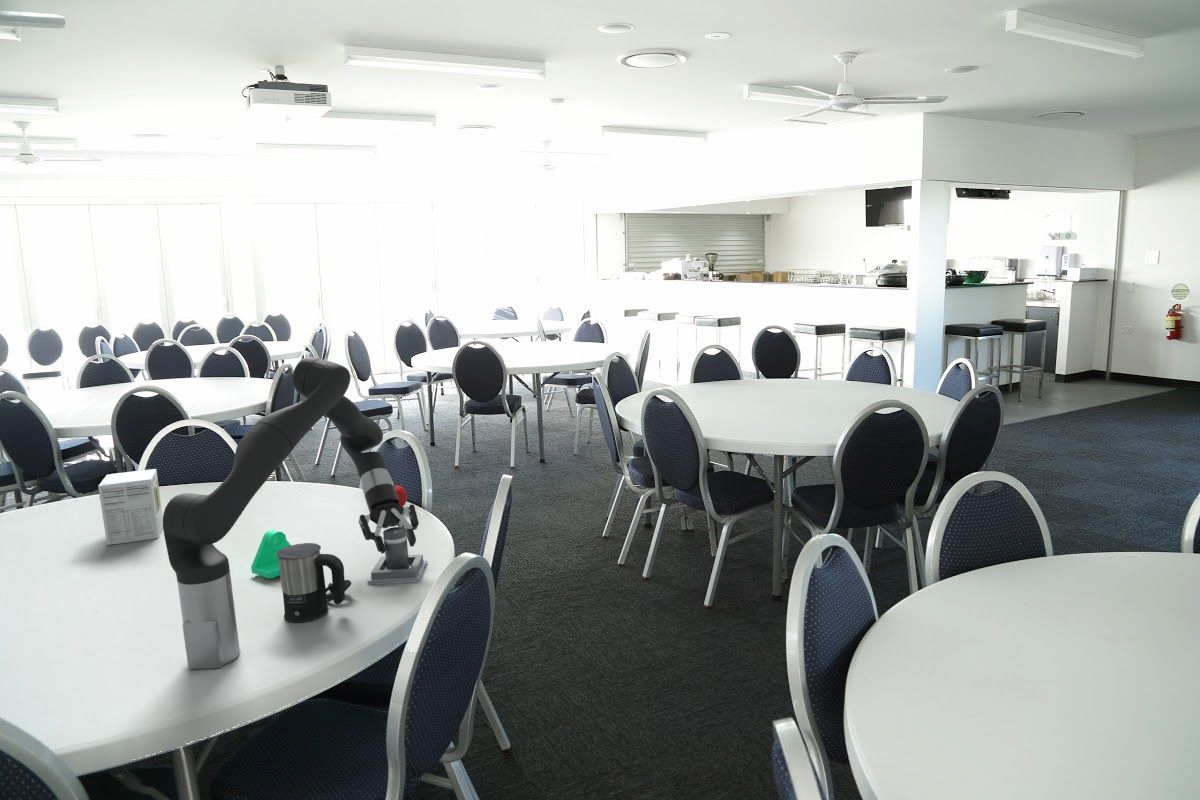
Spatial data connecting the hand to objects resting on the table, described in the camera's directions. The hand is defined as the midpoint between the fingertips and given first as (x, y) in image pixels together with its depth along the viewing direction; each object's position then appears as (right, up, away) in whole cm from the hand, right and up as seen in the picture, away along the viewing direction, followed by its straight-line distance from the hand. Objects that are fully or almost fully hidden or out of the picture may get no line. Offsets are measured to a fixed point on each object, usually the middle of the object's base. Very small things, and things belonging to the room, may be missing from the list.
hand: (398, 548), depth 197 cm
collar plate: (-1, -7, +3) cm, 7 cm away
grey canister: (-1, -6, +3) cm, 6 cm away
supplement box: (-85, -3, +38) cm, 93 cm away
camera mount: (-31, -7, +7) cm, 32 cm away
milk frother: (-14, -11, -15) cm, 23 cm away
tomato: (-15, +2, +53) cm, 55 cm away
